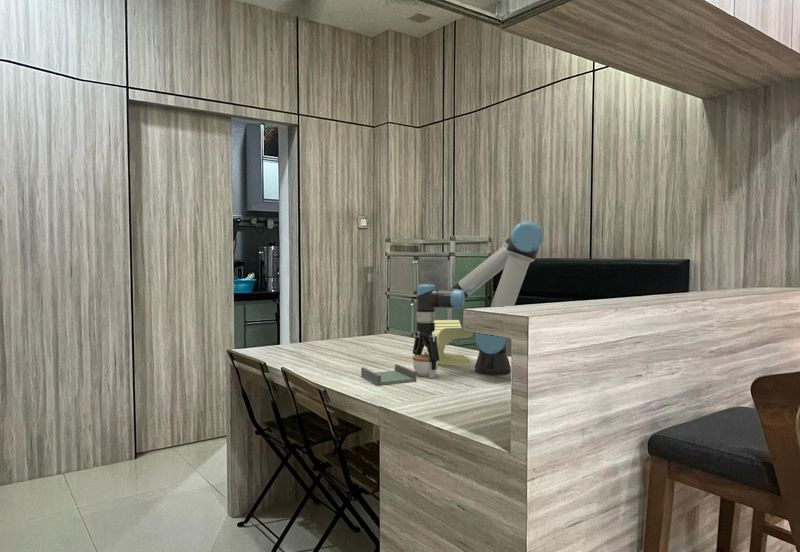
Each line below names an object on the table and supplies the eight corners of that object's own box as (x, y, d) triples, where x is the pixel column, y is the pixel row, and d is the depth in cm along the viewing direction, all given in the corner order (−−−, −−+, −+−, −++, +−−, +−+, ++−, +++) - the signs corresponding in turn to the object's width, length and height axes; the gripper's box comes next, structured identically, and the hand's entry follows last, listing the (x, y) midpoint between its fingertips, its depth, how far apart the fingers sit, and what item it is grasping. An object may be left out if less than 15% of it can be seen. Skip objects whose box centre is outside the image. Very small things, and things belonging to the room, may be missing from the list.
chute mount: (397, 373, 224) (397, 364, 224) (416, 381, 209) (416, 372, 209) (361, 376, 217) (361, 367, 217) (378, 385, 201) (378, 376, 201)
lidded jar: (410, 377, 216) (410, 354, 216) (415, 371, 227) (415, 349, 226) (436, 378, 214) (436, 355, 213) (440, 373, 224) (440, 351, 224)
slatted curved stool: (427, 356, 263) (427, 320, 263) (458, 355, 265) (459, 319, 264) (438, 368, 233) (438, 328, 233) (474, 367, 235) (474, 327, 235)
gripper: (404, 319, 228) (404, 370, 229) (431, 325, 207) (431, 381, 208) (420, 318, 232) (419, 368, 232) (448, 324, 211) (448, 379, 211)
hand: (425, 374), depth 220 cm, fingers open, 11 cm apart
